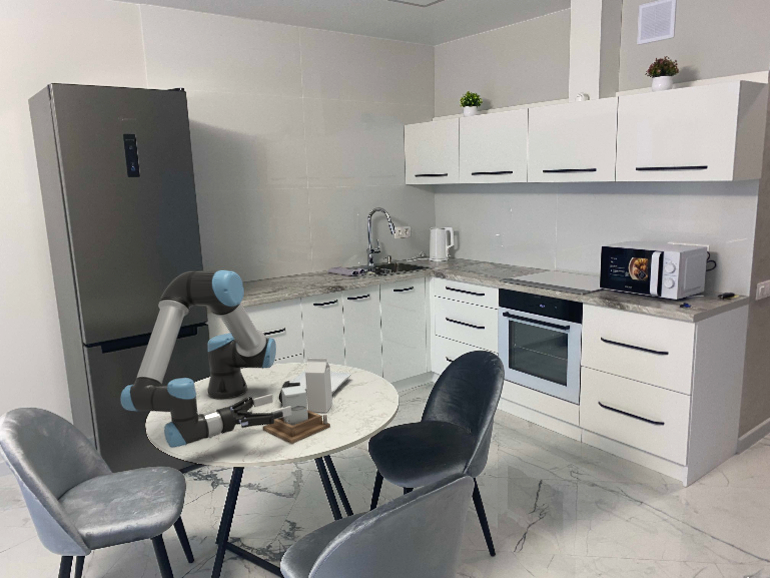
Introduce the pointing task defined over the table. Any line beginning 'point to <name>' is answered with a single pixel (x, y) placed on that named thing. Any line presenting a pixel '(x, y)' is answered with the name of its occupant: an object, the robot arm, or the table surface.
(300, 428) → the jig
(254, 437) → the table surface
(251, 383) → the table surface
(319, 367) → the milk carton
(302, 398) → the supplement box
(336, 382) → the salad plate
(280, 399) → the end cap
